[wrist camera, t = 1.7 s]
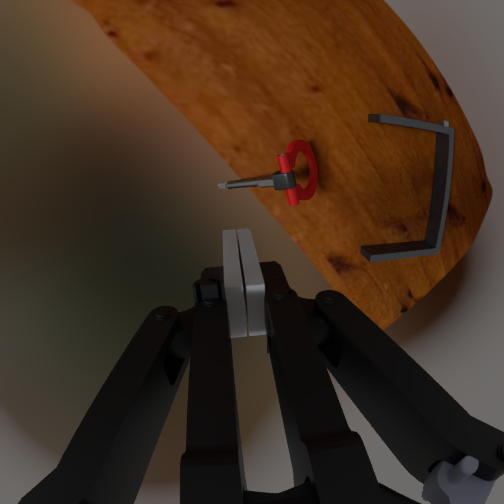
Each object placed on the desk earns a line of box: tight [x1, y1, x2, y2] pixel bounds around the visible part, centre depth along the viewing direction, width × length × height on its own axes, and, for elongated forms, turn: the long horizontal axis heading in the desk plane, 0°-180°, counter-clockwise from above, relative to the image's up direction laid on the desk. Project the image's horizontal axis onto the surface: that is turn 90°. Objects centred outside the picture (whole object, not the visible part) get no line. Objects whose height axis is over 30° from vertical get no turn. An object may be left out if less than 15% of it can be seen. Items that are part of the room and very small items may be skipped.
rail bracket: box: [360, 114, 454, 262], centre depth 33 cm, size 21×14×3 cm, turn 3°
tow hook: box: [217, 140, 318, 206], centre depth 32 cm, size 7×10×7 cm
